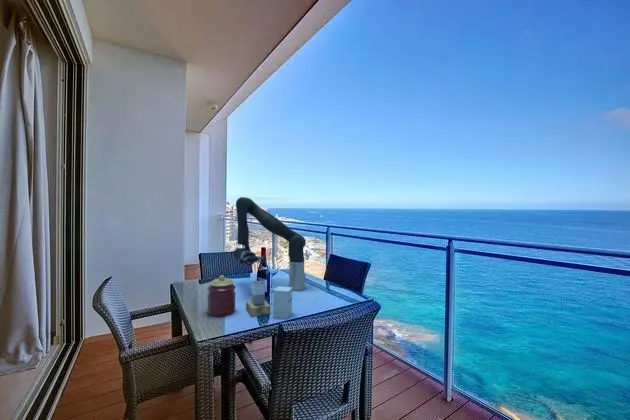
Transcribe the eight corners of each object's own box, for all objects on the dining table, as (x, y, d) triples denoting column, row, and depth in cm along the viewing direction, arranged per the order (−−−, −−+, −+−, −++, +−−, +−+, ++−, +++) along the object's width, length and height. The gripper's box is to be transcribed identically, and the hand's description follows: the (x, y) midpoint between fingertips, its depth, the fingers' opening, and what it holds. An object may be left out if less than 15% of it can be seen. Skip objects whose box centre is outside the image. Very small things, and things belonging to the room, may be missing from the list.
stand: (263, 306, 150) (264, 298, 150) (270, 314, 140) (270, 305, 140) (246, 309, 146) (246, 301, 146) (251, 316, 136) (251, 308, 136)
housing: (261, 300, 147) (261, 280, 146) (264, 304, 141) (264, 283, 141) (251, 301, 144) (251, 281, 144) (254, 305, 139) (254, 284, 139)
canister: (208, 318, 133) (208, 279, 133) (206, 309, 145) (206, 273, 145) (237, 314, 138) (237, 277, 138) (233, 305, 150) (233, 271, 150)
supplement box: (287, 318, 134) (288, 291, 134) (272, 317, 136) (272, 290, 136) (292, 313, 141) (292, 287, 141) (277, 311, 143) (277, 285, 143)
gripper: (235, 252, 169) (241, 256, 155) (260, 250, 176) (268, 253, 161) (236, 265, 170) (242, 270, 155) (260, 262, 176) (268, 267, 161)
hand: (255, 261), depth 158 cm, fingers open, 8 cm apart
